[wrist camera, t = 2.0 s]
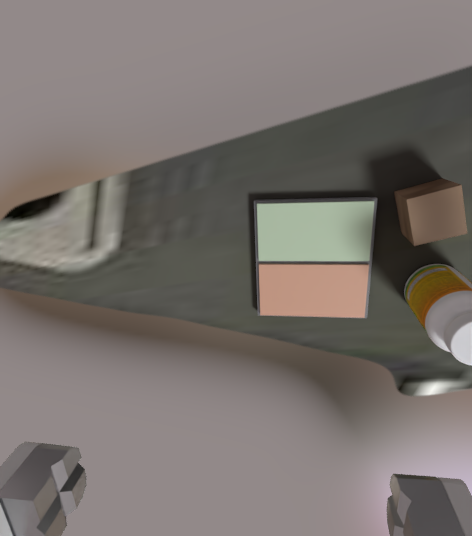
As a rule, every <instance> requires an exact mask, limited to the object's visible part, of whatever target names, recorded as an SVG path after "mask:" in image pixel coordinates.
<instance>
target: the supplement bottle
mask: <svg viewBox="0 0 472 536" xmlns="http://www.w3.org/2000/svg"><path fill="white" fill-rule="evenodd" d="M404 295H405V299H406V302H407V303H408V305H409V307H410V308H411V310H412V311H413V313H414V314H415V316H416V317H417V319H418V320H419V322H420V323H421V325H422V326H423V328H424V329H425V331H426V333H427V334H428V336H429V337H430V339H431V340H432V341H433V342H434V343H435V344H436V345H437V346H438V347H440V348H442V349H443V350H446V351H448V352H451V353H452V355H453V356H454V357H455V358H456V359H457V360H459V361H460V362H462V363H464V364H467V365H472V283H471V282H470V281H469V280H468V279H467V278H466V277H465V276H463V275H462V274H461V273H460V272H459V271H457V270H456V269H454V268H453V267H451V266H448V265H444V264H431V265H427V266H424V267H421V268H419V269H418V270H416V271H415V272H414V273H413V274H412V275H411V276H410V277H409V278H408V280H407V282H406V284H405V289H404Z"/></svg>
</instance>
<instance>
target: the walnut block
mask: <svg viewBox="0 0 472 536" xmlns="http://www.w3.org/2000/svg"><path fill="white" fill-rule="evenodd" d="M394 194H395V200H396V205H397V211H398V216H399V222H400V228H401V233H402V234H403V235H404V236H405V237H406V238H407V239H408V240H409V241H410V242H411V243H412V244H413V245H414V246H417V245H421V244H425V243H429V242H434V241H438V240H442V239H446V238H450V237H455V236H459V235H463V234H467V227H466V218H465V210H464V201H463V193H462V185H460V184H457V183H454V182H451V181H448V180H445V179H443V178H442V179H438V180H435V181H431V182H427V183H424V184H420V185H416V186H413V187H409V188H406V189H402V190H398V191H395V192H394Z"/></svg>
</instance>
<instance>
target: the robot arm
mask: <svg viewBox="0 0 472 536" xmlns="http://www.w3.org/2000/svg"><path fill="white" fill-rule="evenodd" d="M80 459H81V454H80V451H79V448H76V447H70V446H61V445H53V444H44V443H34V442H24V443H22V444H21V445H19V446H18V447H17V448H16V449H15V451H14V452H13V453H12V454H11V455H10V456H9V457H8V458H7V460H6V461H5V462H4V463H3V464H2V466H0V536H61V535H62V533H63V531H64V530H65V528H66V526H67V522H66V516H67V515H68V514H70V513H71V512H73V511H74V510H75V509H76V508H77V507H78V505H79V503H80V501H81V499H82V497H83V494H84V491H85V487H86V473H85V469H84V468H83V467H82V466H81V465H80V464H79V463H78V462H79V460H80ZM390 488H391V492H392V496H390V497H389V498H388V502H387V523H388V528H389V534H390V536H472V496H471V494H470V492H469V490H468V488H467V486H466V484H465V483H464V482H463V481H462V480H460V479H450V478H436V477H430V476H416V475H403V474H393V475H392V476H391V481H390Z"/></svg>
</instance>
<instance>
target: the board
mask: <svg viewBox="0 0 472 536" xmlns="http://www.w3.org/2000/svg"><path fill="white" fill-rule="evenodd" d="M377 199H378V198H376V197H349V198H308V199H268V200H254V218H255V248H256V277H257V307H258V315H265V316H302V317H339V318H367V313H368V301H369V290H370V279H371V267H372V256H373V244H374V233H375V221H376V210H377Z"/></svg>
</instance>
